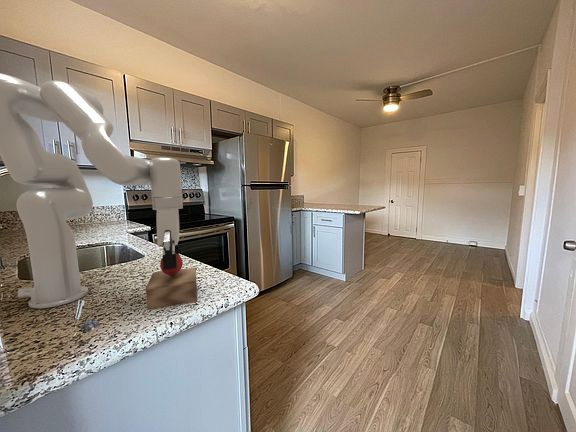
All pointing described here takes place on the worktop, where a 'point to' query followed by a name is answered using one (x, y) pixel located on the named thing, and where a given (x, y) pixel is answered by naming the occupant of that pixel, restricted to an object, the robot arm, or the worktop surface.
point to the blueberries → (89, 325)
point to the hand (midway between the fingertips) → (172, 263)
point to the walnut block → (171, 289)
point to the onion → (173, 271)
